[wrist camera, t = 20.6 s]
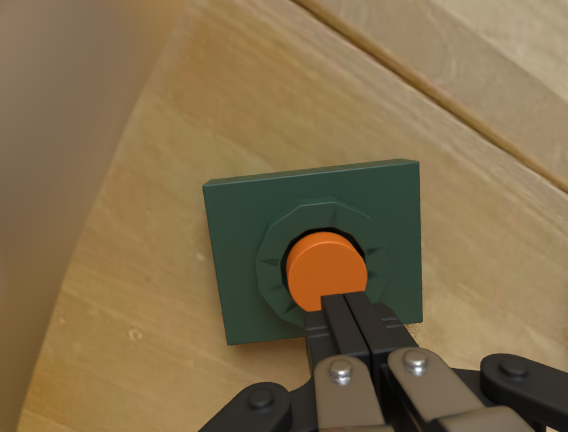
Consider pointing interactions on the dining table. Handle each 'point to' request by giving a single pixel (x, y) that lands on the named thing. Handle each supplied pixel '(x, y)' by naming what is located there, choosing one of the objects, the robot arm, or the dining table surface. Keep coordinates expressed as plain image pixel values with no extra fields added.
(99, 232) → the dining table surface
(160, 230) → the dining table surface
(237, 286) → the button box
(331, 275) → the button
